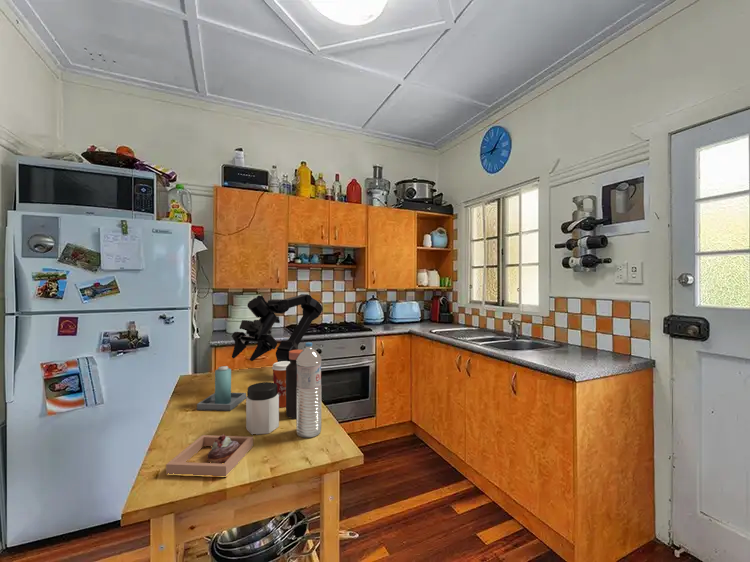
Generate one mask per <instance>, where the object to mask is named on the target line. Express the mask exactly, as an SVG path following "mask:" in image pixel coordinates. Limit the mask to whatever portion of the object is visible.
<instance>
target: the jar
mask: <svg viewBox="0 0 750 562" xmlns="http://www.w3.org/2000/svg"><path fill="white" fill-rule="evenodd" d="M246 392H247V393H246V399H245V400H246V401H245V418H246V419H245V428H246V430H247V432H249V434H250V435H252V436H254V435H253V434H256V435H268V434H271V433H272V432H273V431H275V430H276V429H277V428H279V427H280V407H279V395H278V394H277V384H275V383H274V382H271V381H270V382H269V381H267V382H266V381H265V382H264V381H263V382H262V381H261V382H258V383H257V382H256V383H254V384H250V385H249V386H248V387H247V391H246Z"/></svg>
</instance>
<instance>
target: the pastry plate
mask: <svg viewBox="0 0 750 562" xmlns="http://www.w3.org/2000/svg"><path fill="white" fill-rule="evenodd" d="M220 436H221V435H212V434H211V435H210V434H209V435H207V434H202V435H201V436H200V437H198V438H197V439H195V440H194V441H193V442H191V444H189V445H188V446H187V447H185V448H184V449H183V450H182V451H180V452H179V453H178V454H177V455H176V456H175V457H173V458H172V459H171V460H170V461H168V462H167V463H166V464H165V465H166V466H165V473H166V474H168V473H169V474H173V473H174V474H193V475H213V476H226V475H227V474H228V473H229V472H230V471H231V470H232V469H233V468H234V467H235V466H236V465H237V464H238V462H239V461H240V460H241V459H242V458H243V457H244V458H245V457H246V455H247V454H248V453H249V452H248V451H249V450H250V451H251V449H252V448H253V447H254V436H243V435H225V436H226V437H229V438H230V440H231V441H237V442H238V443H240V444H241V446H240V447H239V448H238V449H237V450H236V451H235V452H234V453H233V455H232V456H231V457H230V458H229V459H228V460H227V461H226V462H225V463H224V464H218V463H209V462H188V461H189V460H191V459H192V458H193V457H194V456H195V455H196V454H197V453H199V452H200V451H201V450H202V449H203V448H204V447H203V446H212V445H213V443H214V442H215V440H216V439H217V438H219V437H220ZM252 446H253V447H252ZM202 447H203V448H202ZM201 448H202V449H201ZM200 449H201V450H200ZM199 450H200V451H199ZM198 451H199V452H198ZM247 452H248V453H247ZM195 453H196V454H195ZM246 453H247V454H246ZM194 454H195V455H194ZM245 454H246V455H245ZM193 455H194V456H193ZM192 456H193V457H192ZM191 457H192V458H191ZM190 458H191V459H190ZM244 458H243V459H244ZM188 459H189V460H188ZM243 459H242V460H243ZM187 460H188V461H187ZM242 460H241V461H242ZM186 461H187V462H186ZM241 461H240V462H241ZM240 462H239V463H240ZM238 465H239V464H238ZM238 465H237V466H238ZM237 466H236V467H237ZM236 467H235V468H236ZM235 468H234V469H235ZM234 469H233V470H234ZM166 474H165V475H166Z"/></svg>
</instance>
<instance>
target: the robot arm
mask: <svg viewBox="0 0 750 562" xmlns="http://www.w3.org/2000/svg"><path fill="white" fill-rule="evenodd" d="M297 306H300V308H301V309H302V316H301V318H300V320H299V321H298V322H297V325H296V326H295V328H294V330H293V331H292V333H291V334H290V336H289V337H288V339H287V340H281V341H280V343H279V344H278V341H277V340H276V339H275V338H274V337H273V335H272V334H271V333H272V331H271V329H272V328H273V326H274V325H275V323H276V324H280V323H281V320H280V317H279V316H278V315H279V314H280V315H281V314H284V313H286V312H288V311H289V309H291V308H294V307H297ZM247 308H248V309H249V310H250V311H251V313H252V314H253V315H254V316H255V318H259V319H254V320H249V319H248V320H246V319H245V320H244V319H242V320H241V322H240V324H239V329H240V330H244V331H245V332H243V331H234V332H233V333H232V335H231V338H232V340H233V341H234V347H233V351H232V354H231V358H232V359H235V358H237V357H238V356H239V355H240V353H242V352H243V351H244V350H245V349H246V348H247V346H248V345H249V343H257V345H256V347H255V349H254V350H253V352H252V354H251V356H250V359H249V361H250V362H253V361H255V360H257V359H258V358H260V357H261V356H263V355H264V354H266V353H269V352H270V351H272V350H275V349H276V351H275V357H276V361H277V362H281V361H290V360H289V351H291V350H299V345H300V344H301V343H300V342H301V341H302V340H303V337H304V336H305V334H306V332H307V331H308V329H309V327H310V325H311V323H312V322H313V321H315V320H316V319H317V318H319V317H320V315H321V314H322V312H323V309H324V308H323V305H322V304H321V303H320V302H319V301H318V300H317V299H315V298H313V297H312V296H311V295H310V294H307V293H306V294H305V293H301V294H299V295H296V296H292V297H288V298H281V299H277V298H274V299H269V300H268V301H266V300H265V297H264V296H263V295H257V297H254V298H252V299H251V300H249V301H248V303H247Z"/></svg>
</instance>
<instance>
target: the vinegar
mask: <svg viewBox="0 0 750 562" xmlns="http://www.w3.org/2000/svg"><path fill="white" fill-rule="evenodd" d="M303 350H304V349H298V350H291V351H289V360H290V364H289V365H288V366H287V367H286V407H285V415H286V417H287V418H289V419H293V420H294V419H296V417H297V416H296V414H297V413H296V407H297V406H296V404H297V403H296V397H297V396H296V394H297V393H296V387H297V364H296V359H297V357H298V355H299V354H300V353H301V352H302V351H303ZM296 420H297V419H296Z"/></svg>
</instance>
